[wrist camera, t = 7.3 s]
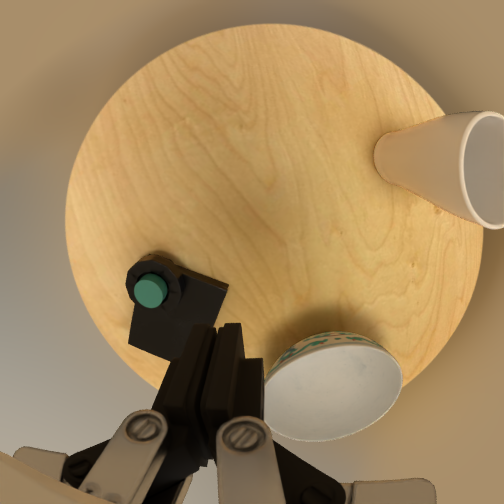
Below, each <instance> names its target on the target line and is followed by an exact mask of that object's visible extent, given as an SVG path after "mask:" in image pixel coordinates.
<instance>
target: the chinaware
mask: <svg viewBox="0 0 504 504" xmlns="http://www.w3.org/2000/svg"><path fill="white" fill-rule="evenodd" d="M402 382H403V376H402V371H401V368H400V366H399V364H398V362H397V361H396V359H395V358H394V357H393V356H392V355H391V354H390V353H389V352H388V351H387V350H386V349H385V348H383V347H382V346H381V345H379V344H378V343H376V342H375V341H373V340H371V339H369V338H367V337H365V336H362V335H359V334H355V333H351V332H341V331H335V332H325V333H320V334H316V335H313V336H310V337H308V338H305V339H303V340H301V341H299V342H298V343H296V344H295V345H293V346H292V347H290V348H289V349H288V350H286V351H285V352H284V353H283V354H282V355H281V356H280V357H279V358H278V360H277V361H276V362H275V363H274V365H273V366H272V367H271V369H270V371H269V372H268V374H267V376H266V378H265V380H264V385H265V399H264V422H265V423H266V424H267V425H268V426H269V428H270V429H272V430H273V431H274V432H276V433H278V434H280V435H282V436H285V437H287V438H290V439H294V440H300V441H310V442H318V441H328V440H334V439H339V438H343V437H346V436H349V435H352V434H354V433H357V432H359V431H361V430H363V429H365V428H367V427H368V426H370V425H372V424H373V423H375V422H376V421H377V420H379V419H380V418H381V417H382V416H383V415H385V413H387V411H388V410H389V409H390V408H391V407H392V406H393V404H394V403H395V401H396V400H397V398H398V396H399V393H400V391H401V388H402Z"/></svg>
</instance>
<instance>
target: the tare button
mask: <svg viewBox="0 0 504 504" xmlns="http://www.w3.org/2000/svg"><path fill="white" fill-rule="evenodd" d="M134 294H135V297H136V299H137V300H138V302H139V303H140V304H142V305H143V306H145V307H148V308H155V307H157V306H159V305H160V304H161V302H162V301H163V299H164V298H165V296H166V295H167V285H166V283H165V281H164V280H163V279H162V278H161V277H160V276H158V275H156V274H146V275H144V276H143V277H142V278H141V279H140V280H139V281H138V283H137V284H136V285H135V288H134Z"/></svg>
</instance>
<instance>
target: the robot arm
mask: <svg viewBox="0 0 504 504" xmlns="http://www.w3.org/2000/svg"><path fill="white" fill-rule="evenodd" d="M264 399H265V385H264V367H263V358H247V359H245V352H244V344H243V336H242V327H241V323H225V325H224V327H219V330H218V334H217V331H216V328H215V327H211V326H210V324H209V323H208V324H194V325H193V327H192V329H191V332H190V334H189V337H188V340H187V342H186V345H185V347H184V350H183V352H182V355H181V357H180V358H173V359H172V360H171V362H170V365H169V367H168V369H167V372H166V374H165V377H164V379H163V381H162V384H161V386H160V389H159V391H158V394H157V396H156V399H155V401H154V403H153V406H152V409H151V410H148V409H146V410H139V411H136V412H133V413H131V414H130V415H128V416H127V417H126V418H125V419H124V421H123V422H122V424H121V425H120V426H119V428H118V429H117V431H116V432H115V434H114V435H113V437H112V438H111V439H109V440H106V441H104V442H102V443H100V444H97V445H95V446H92V447H90V448H87V449H85V450H83V451H80V452H77V453H75V454H73V455H71V456H68V455H67V454H66V453H60V452H54V451H48V450H42V449H38V448H33V447H25V446H24V447H21V448H19V449H18V450H17V451H16V452H15V453H14V455H13V457H11V456H9V455H7V454H5V453H3V452H1V451H0V504H182V503H183V501H184V498H185V496H186V493H187V491H188V489H189V486H190V484H191V481H192V477H193V473H195V472H197V471H198V470H199V467H200V466H203V467H207V464H208V459H214V461H215V464H216V466H217V475H218V476H217V477H218V498H219V504H436V490H435V487H434V485H433V484H432V483H431V482H430V481H428V480H426V479H424V478H410V479H400V480H382V481H354V482H353V483H338V482H337V481H336V480H335V479H333V478H331V477H329V476H328V475H326V474H324V473H323V472H321V471H319V470H318V469H316V468H315V467H313V466H311V465H310V464H308V463H307V462H305V461H303V460H302V459H300V458H299V457H297V456H296V455H294V454H293V453H291V452H290V451H288V450H287V449H285V448H284V447H283V446H281V445H280V444H278V443H277V442H275V441H274V440H273V439H272V434H271V431H270V428H269V426H268V425H267V424H266V423H265V422H264Z"/></svg>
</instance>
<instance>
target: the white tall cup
mask: <svg viewBox="0 0 504 504" xmlns="http://www.w3.org/2000/svg"><path fill="white" fill-rule="evenodd" d="M374 163H375V167H376V169H377V171H378V173H379V174H380V176H381V177H382V178H383V179H384V180H386V181H387V182H389V183H391V184H393V185H396V186H399V187H402V188H404V189H406V190H408V191H410V192H411V193H413V194H415V195H417V196H419V197H421V198H423V199H424V200H426V201H428V202H430V203H432V204H433V205H435V206H437V207H439V208H441V209H443V210H444V211H446V212H448V213H450V214H453V215H455V216H457V217H459V218H462V219H464V220H467V221H469V222H472V223H475V224H477V225H480V226H483V227H486V228H489V229H500V228H503V227H504V116H503V115H501V114H499V113H497V112H493V111H472V112H460V113H454V114H448V115H444V116H441V117H437V118H434V119H431V120H428V121H425V122H422V123H419V124H416V125H413V126H410V127H407V128H404V129H401V130H398V131H392V132H388V133H386V134H385V135H383V136H382V137H381V138H380V139H379V140H378V142H377V144H376V146H375V149H374Z"/></svg>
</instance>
